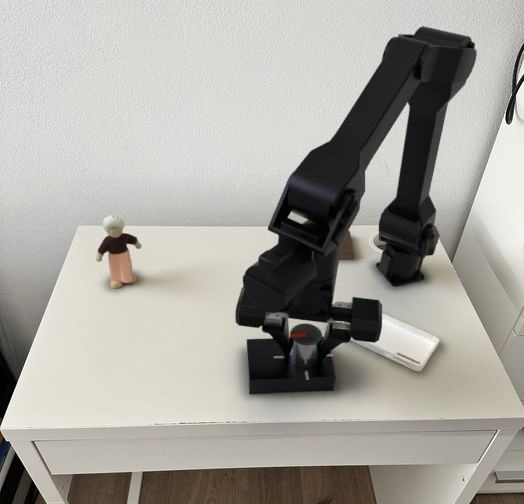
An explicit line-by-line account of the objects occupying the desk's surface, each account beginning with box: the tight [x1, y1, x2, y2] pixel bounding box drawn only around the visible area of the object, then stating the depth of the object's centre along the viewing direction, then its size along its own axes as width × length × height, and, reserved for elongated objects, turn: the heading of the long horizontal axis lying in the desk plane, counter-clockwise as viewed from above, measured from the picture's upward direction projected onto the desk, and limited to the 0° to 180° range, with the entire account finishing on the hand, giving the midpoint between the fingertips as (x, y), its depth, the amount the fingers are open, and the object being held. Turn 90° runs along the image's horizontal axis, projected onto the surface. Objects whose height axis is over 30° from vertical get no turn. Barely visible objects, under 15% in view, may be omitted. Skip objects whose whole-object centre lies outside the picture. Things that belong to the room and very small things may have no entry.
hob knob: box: [288, 322, 323, 368], centre depth 75 cm, size 4×4×5 cm
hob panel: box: [246, 336, 337, 395], centre depth 77 cm, size 12×9×3 cm
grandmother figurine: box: [95, 214, 143, 289], centre depth 88 cm, size 8×4×13 cm, turn 131°
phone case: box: [350, 312, 440, 372], centre depth 83 cm, size 7×1×15 cm
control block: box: [339, 230, 355, 261], centre depth 98 cm, size 12×7×4 cm, turn 91°
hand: (303, 356), depth 76 cm, fingers closed on hob knob, 4 cm apart
